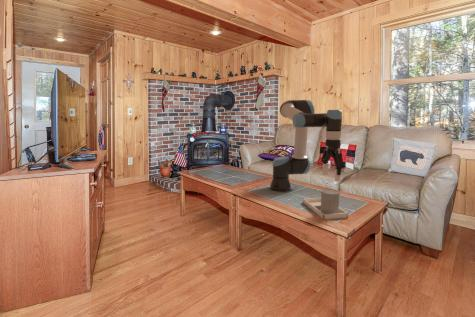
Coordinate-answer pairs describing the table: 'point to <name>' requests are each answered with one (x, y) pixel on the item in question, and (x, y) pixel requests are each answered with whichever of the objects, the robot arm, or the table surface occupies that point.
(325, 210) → the white speckled round cylinder
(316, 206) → the tray
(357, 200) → the table surface
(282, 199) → the table surface
